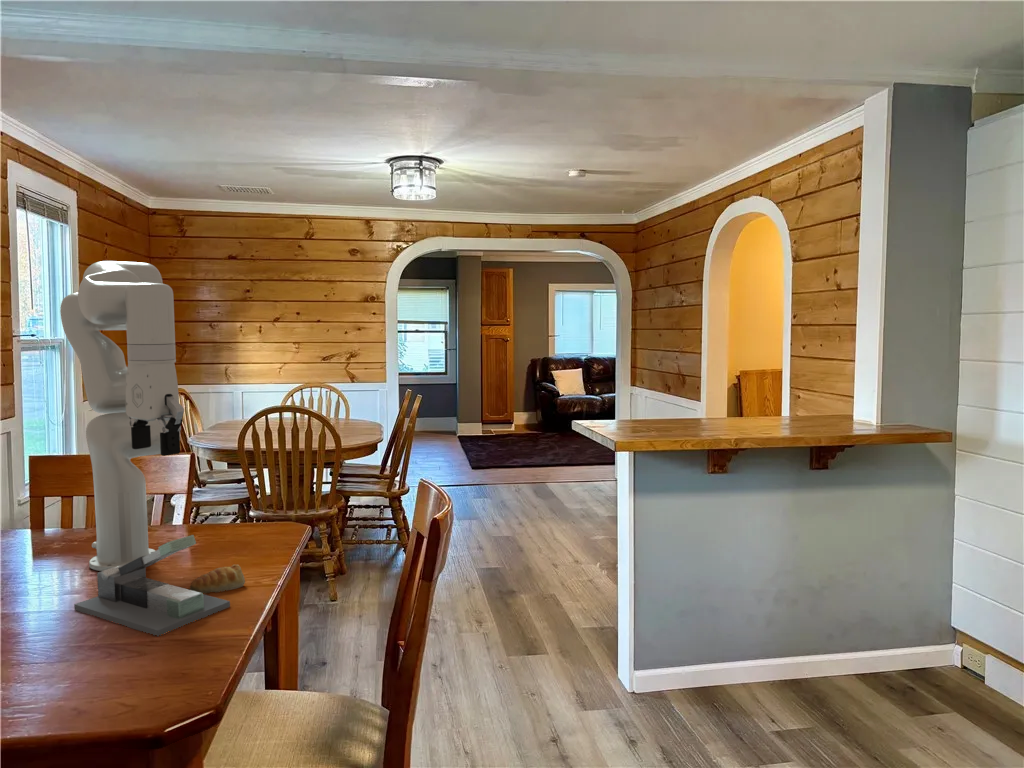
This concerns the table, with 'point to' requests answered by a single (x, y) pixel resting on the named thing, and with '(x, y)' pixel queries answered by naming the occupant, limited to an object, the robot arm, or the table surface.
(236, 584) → the pastry
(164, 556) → the bar
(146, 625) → the slate mat
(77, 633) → the table surface
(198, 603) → the stand
